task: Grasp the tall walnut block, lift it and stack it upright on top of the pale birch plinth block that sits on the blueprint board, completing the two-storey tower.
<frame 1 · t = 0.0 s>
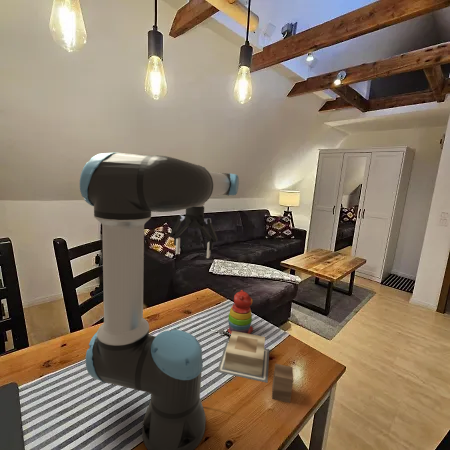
hand: (192, 255, 108), 28 cm above the table, fingers open, 13 cm apart
walnut block: (280, 395, 75), on the table
plinth block: (244, 359, 87), resting on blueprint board
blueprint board: (244, 360, 87), on the table
stacking bear: (239, 334, 103), on the table
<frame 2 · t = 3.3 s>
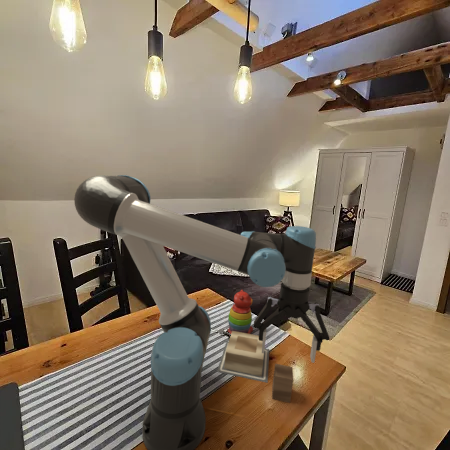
hand: (287, 354, 72), 13 cm above the table, fingers open, 13 cm apart
nothing on the table moved.
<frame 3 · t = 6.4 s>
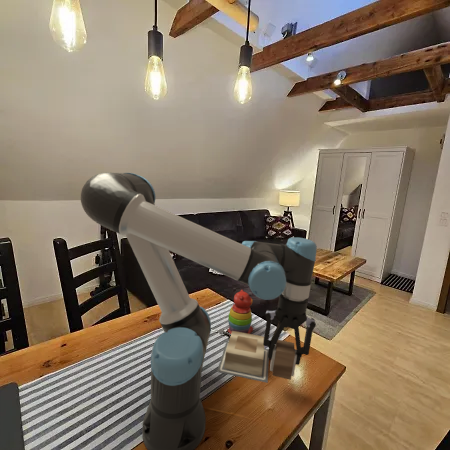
hand: (281, 370, 73), 8 cm above the table, fingers closed on walnut block, 5 cm apart
walnut block: (281, 371, 73), point 8 cm above the table, touching gripper
everything else where it was.
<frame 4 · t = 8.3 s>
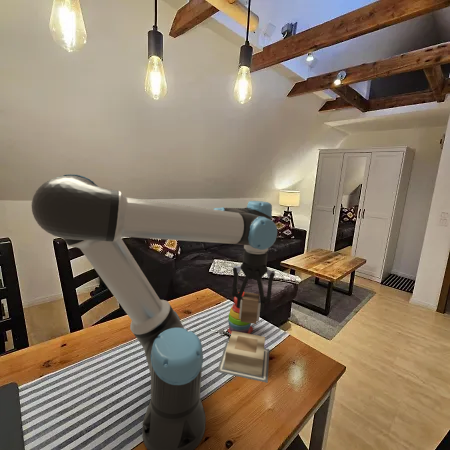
hand: (249, 317, 84), 16 cm above the table, fingers closed on walnut block, 5 cm apart
walnut block: (249, 318, 84), point 16 cm above the table, touching gripper
everything else where it was.
when the fingers open (8 cm above the table, at t = 10.4 s): walnut block stays where it is, resting on plinth block.
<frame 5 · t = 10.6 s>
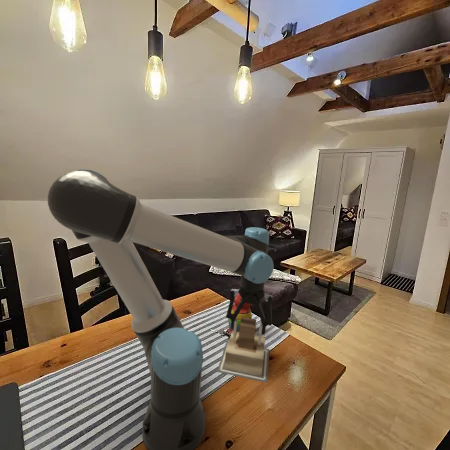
hand: (246, 339, 86), 8 cm above the table, fingers open, 8 cm apart
walnut block: (246, 343, 86), point 7 cm above the table, touching plinth block
plinth block: (244, 359, 87), resting on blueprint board, touching walnut block
everything else where it was.
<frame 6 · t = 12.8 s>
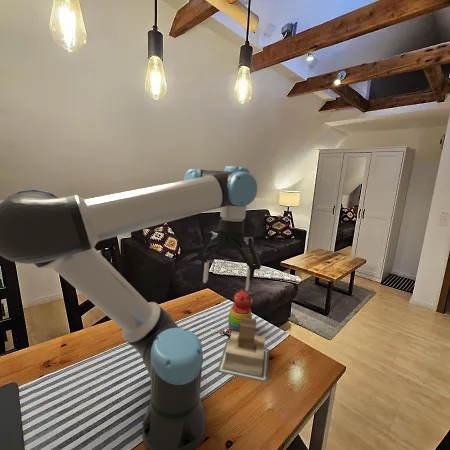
hand: (225, 285, 80), 28 cm above the table, fingers open, 13 cm apart
nothing on the table moved.
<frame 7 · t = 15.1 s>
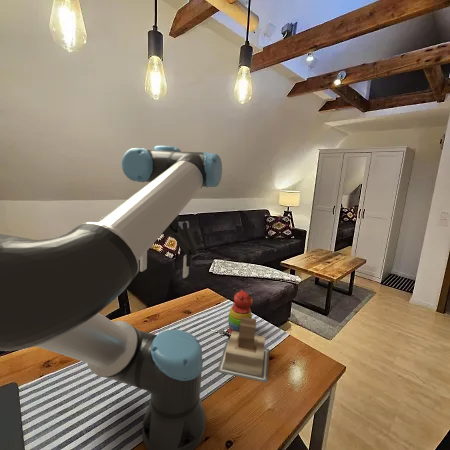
hand: (164, 273, 77), 32 cm above the table, fingers open, 13 cm apart
nothing on the table moved.
at the end: walnut block 0.1 cm from the plinth block (horizontally); walnut block point 6.6 cm above the table; walnut block tilted 0° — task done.
